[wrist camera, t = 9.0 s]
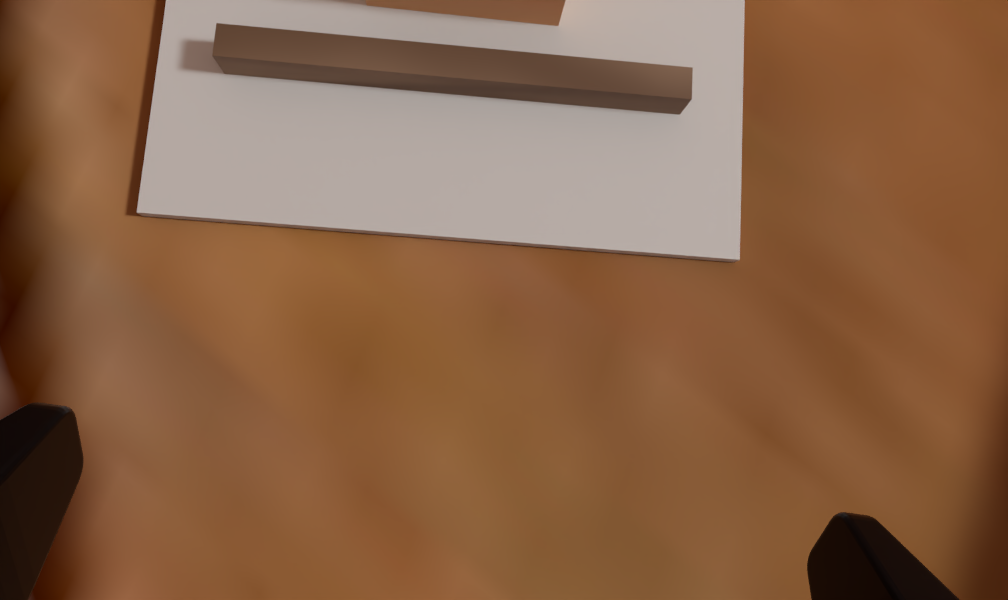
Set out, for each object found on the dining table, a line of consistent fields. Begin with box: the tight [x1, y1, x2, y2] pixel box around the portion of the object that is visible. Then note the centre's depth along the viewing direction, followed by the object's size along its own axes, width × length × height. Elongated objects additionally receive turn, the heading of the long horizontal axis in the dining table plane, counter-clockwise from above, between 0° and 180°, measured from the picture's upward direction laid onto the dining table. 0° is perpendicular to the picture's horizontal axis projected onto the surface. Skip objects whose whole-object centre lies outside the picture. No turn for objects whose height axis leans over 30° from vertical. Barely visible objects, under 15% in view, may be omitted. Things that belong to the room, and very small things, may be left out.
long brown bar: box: [212, 23, 693, 115], centre depth 23 cm, size 1×14×1 cm, turn 87°
